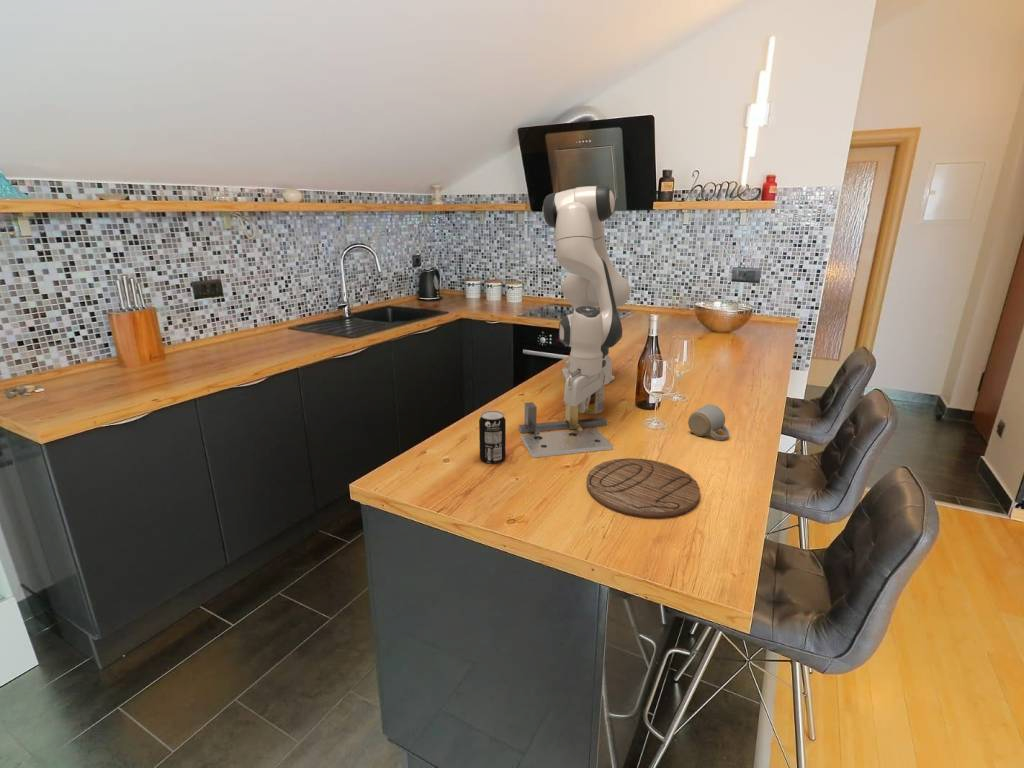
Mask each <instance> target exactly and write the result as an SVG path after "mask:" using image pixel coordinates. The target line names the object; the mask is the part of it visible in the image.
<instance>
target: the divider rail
mask: <svg viewBox="0 0 1024 768" xmlns="http://www.w3.org/2000/svg"><path fill="white" fill-rule="evenodd" d="M537 411H538V410H537V405H536V404H535V403H534V401H531V402H524V424H518V430H520V431H519V433H520V434H528V433H527V432H530V433H534V434H536V435H540V433H541V432H549V431H550V432H552V431H563V430H570V429H569V423H568V421H565V420H561V421H558V420H557V421H548V422H537V414H538V413H537ZM578 424H579V425H580V426H581V427H582V429H583V428H595V427H603V426H607V425H608V420H607V419H606V418H605V417H602V416H601V417H593V418H592V417H591V418H581V419H579V418H578ZM539 431H541V432H539Z"/></svg>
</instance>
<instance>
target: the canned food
mask: <svg viewBox="0 0 1024 768" xmlns="http://www.w3.org/2000/svg"><path fill="white" fill-rule="evenodd" d="M604 382H605V373H604V380H603V385H602V387H601V389H599V390H598V391H596V392H595V393H593V394H592V395H591V397H590V401H589V404H588V410H586V411H585V412H584V413H583V414H587V415H598V414H600V413H602V412H603V411H604V398H605V385H604Z"/></svg>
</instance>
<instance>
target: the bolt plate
mask: <svg viewBox="0 0 1024 768" xmlns="http://www.w3.org/2000/svg"><path fill="white" fill-rule="evenodd" d="M520 441H522V443H523V445H524V447H525V448H526V449H527V451H528V453H529V454H530V456H531V458H533V459H534V458H542V457H553V456H554V457H555V456H562V455H563V456H564V455H571V454H582V453H591V452H592V453H593V452H601V451H609V450H611V451H612V450H613V448H614V445H613V443H612V442H611V441H609V439H607V438H606V437H605V435H603V433H602V432H601V431H600V430H599V429H598V428H597V427H589V428H584V429H583V428H582V431H579V430H578V429H568V430H557V431H550V432H549V431H547V432H540V435H536V433H530V434H529V433H525V434H521V435H520Z"/></svg>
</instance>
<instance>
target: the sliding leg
mask: <svg viewBox="0 0 1024 768" xmlns="http://www.w3.org/2000/svg"><path fill="white" fill-rule="evenodd" d="M564 414H565V415H564V421H568V423H569V429H568V430H579V431H582V429H583V428H582V427H581V426H580V425H579V424H578V420H579V411H578V405H577V406H570V405H566V404H565V410H564Z"/></svg>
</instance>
